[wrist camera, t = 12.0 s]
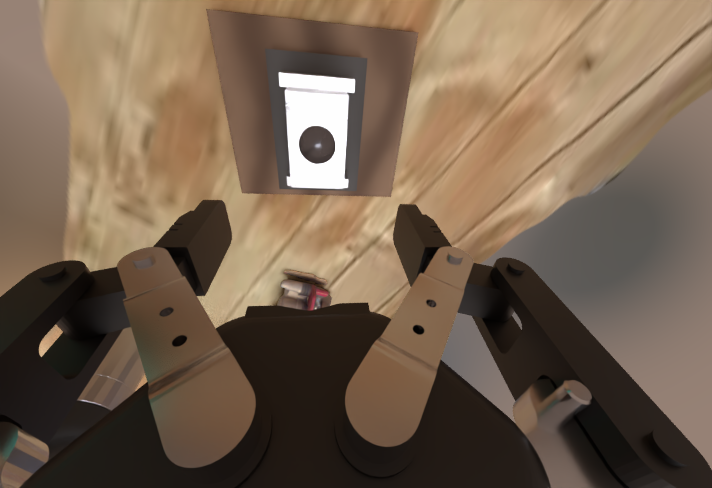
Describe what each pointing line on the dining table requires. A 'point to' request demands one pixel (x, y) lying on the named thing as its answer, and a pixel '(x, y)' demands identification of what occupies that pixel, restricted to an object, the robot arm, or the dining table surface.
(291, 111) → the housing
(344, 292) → the dining table surface
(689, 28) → the dining table surface
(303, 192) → the stand
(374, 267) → the dining table surface
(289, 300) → the brake caliper
